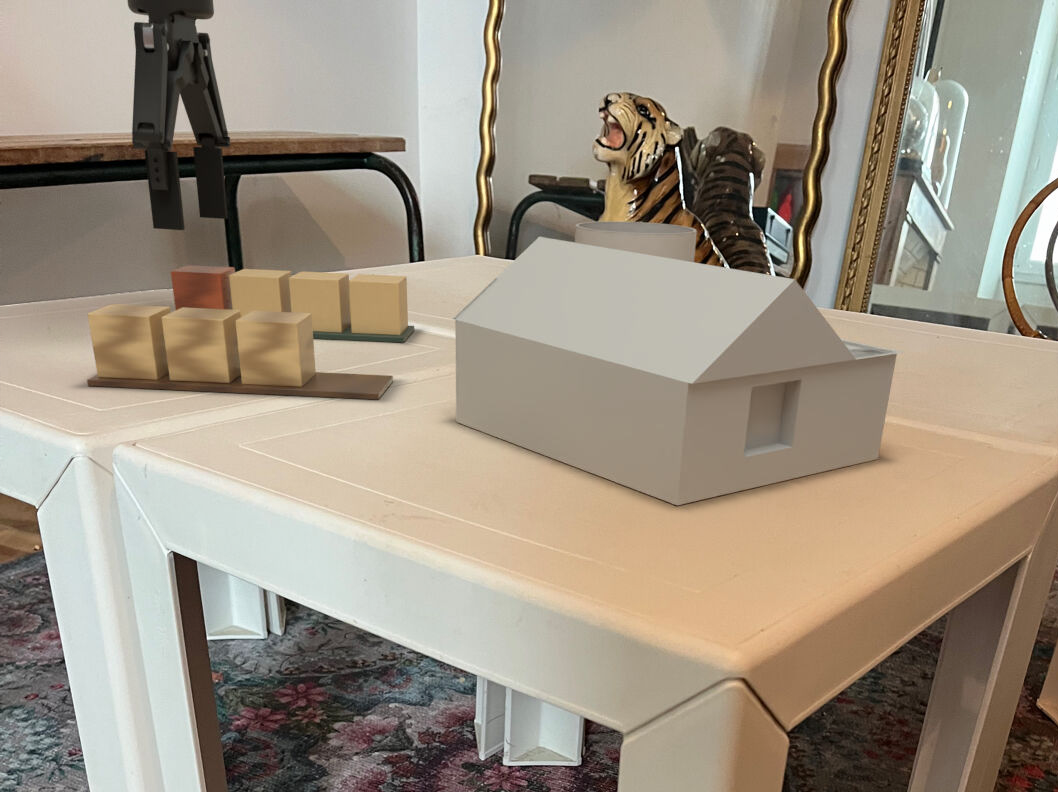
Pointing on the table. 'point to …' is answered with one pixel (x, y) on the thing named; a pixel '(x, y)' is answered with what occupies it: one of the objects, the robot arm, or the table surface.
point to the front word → (216, 353)
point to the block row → (329, 302)
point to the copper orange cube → (202, 287)
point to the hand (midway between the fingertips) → (192, 223)
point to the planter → (640, 238)
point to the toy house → (666, 372)
